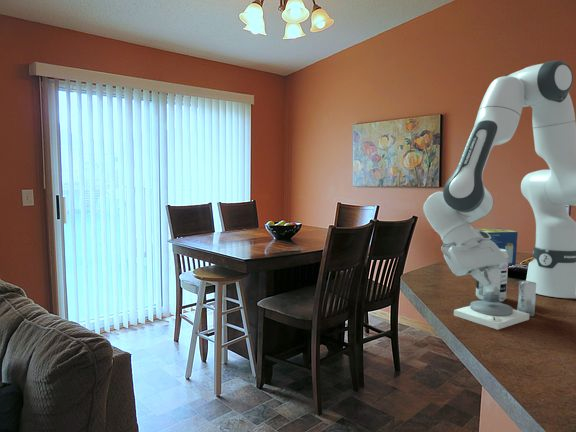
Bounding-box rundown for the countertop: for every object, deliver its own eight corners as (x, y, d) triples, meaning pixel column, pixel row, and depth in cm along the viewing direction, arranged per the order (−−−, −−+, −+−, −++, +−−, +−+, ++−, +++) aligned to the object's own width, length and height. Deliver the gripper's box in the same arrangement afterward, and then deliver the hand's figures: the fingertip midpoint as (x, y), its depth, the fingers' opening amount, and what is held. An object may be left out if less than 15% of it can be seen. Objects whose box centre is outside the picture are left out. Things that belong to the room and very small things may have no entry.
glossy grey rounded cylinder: (488, 297, 112) (490, 266, 112) (502, 301, 109) (504, 269, 108) (479, 299, 110) (481, 267, 110) (493, 303, 107) (495, 270, 106)
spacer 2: (522, 310, 114) (524, 280, 113) (537, 314, 111) (539, 283, 110) (514, 312, 112) (515, 281, 111) (529, 317, 108) (531, 285, 108)
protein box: (465, 266, 172) (467, 228, 171) (496, 264, 176) (498, 228, 175) (483, 271, 162) (485, 232, 161) (516, 269, 166) (518, 231, 165)
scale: (485, 307, 117) (485, 298, 116) (529, 319, 106) (529, 309, 106) (453, 315, 109) (454, 306, 109) (497, 329, 99) (498, 319, 99)
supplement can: (479, 293, 130) (482, 246, 129) (508, 298, 125) (511, 249, 124) (472, 299, 124) (474, 249, 123) (502, 304, 119) (505, 252, 118)
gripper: (446, 237, 109) (478, 282, 101) (491, 232, 119) (524, 273, 112) (431, 251, 113) (461, 295, 105) (476, 245, 124) (507, 285, 116)
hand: (494, 284), depth 109 cm, fingers closed on glossy grey rounded cylinder, 4 cm apart
